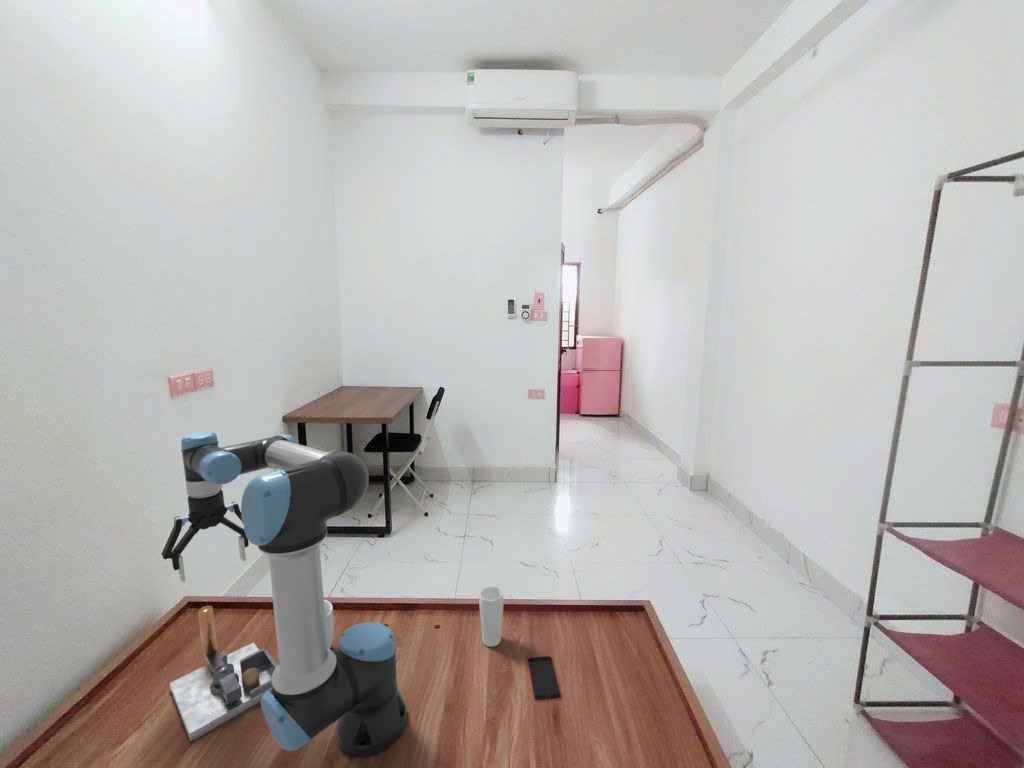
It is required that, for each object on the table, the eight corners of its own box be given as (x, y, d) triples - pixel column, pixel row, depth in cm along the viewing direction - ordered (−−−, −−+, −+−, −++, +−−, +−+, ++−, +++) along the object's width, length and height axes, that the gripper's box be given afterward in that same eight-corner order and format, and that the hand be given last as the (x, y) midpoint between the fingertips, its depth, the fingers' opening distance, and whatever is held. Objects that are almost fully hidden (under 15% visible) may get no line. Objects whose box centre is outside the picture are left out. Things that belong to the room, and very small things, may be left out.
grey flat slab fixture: (281, 689, 112) (279, 667, 111) (190, 741, 98) (187, 717, 97) (254, 648, 125) (252, 629, 124) (170, 690, 112) (167, 668, 111)
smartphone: (534, 701, 108) (526, 657, 122) (534, 703, 108) (526, 659, 122) (562, 698, 109) (551, 655, 122) (562, 700, 109) (551, 657, 122)
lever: (245, 695, 107) (239, 643, 104) (224, 706, 103) (217, 654, 101) (218, 648, 121) (213, 603, 119) (199, 657, 118) (193, 610, 116)
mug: (343, 668, 118) (340, 623, 116) (297, 687, 112) (293, 640, 110) (331, 634, 131) (328, 593, 129) (289, 650, 125) (285, 607, 123)
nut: (261, 684, 111) (260, 673, 110) (245, 693, 108) (244, 682, 108) (256, 676, 113) (255, 665, 113) (240, 685, 111) (239, 673, 110)
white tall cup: (508, 638, 129) (507, 590, 127) (494, 653, 123) (494, 603, 121) (488, 629, 133) (488, 583, 130) (475, 643, 127) (474, 595, 125)
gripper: (254, 476, 126) (261, 546, 130) (140, 502, 109) (151, 582, 112) (263, 483, 121) (270, 556, 124) (145, 512, 103) (156, 596, 107)
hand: (214, 568), depth 118 cm, fingers open, 13 cm apart
